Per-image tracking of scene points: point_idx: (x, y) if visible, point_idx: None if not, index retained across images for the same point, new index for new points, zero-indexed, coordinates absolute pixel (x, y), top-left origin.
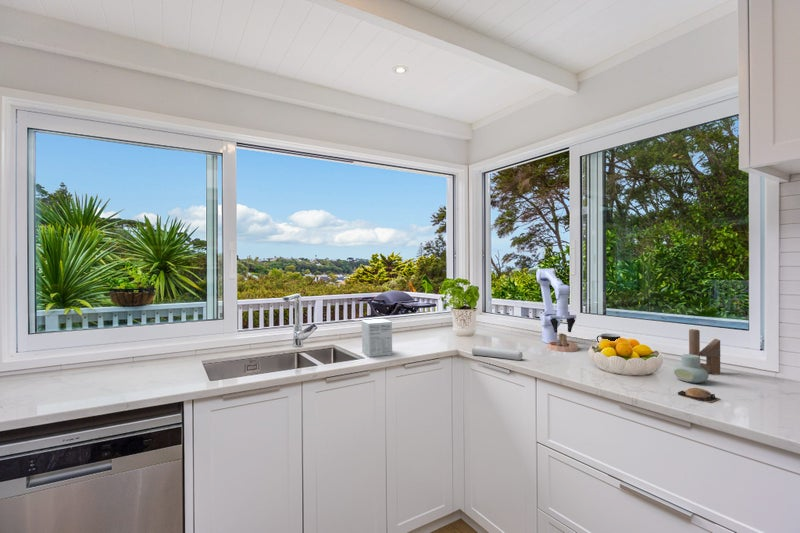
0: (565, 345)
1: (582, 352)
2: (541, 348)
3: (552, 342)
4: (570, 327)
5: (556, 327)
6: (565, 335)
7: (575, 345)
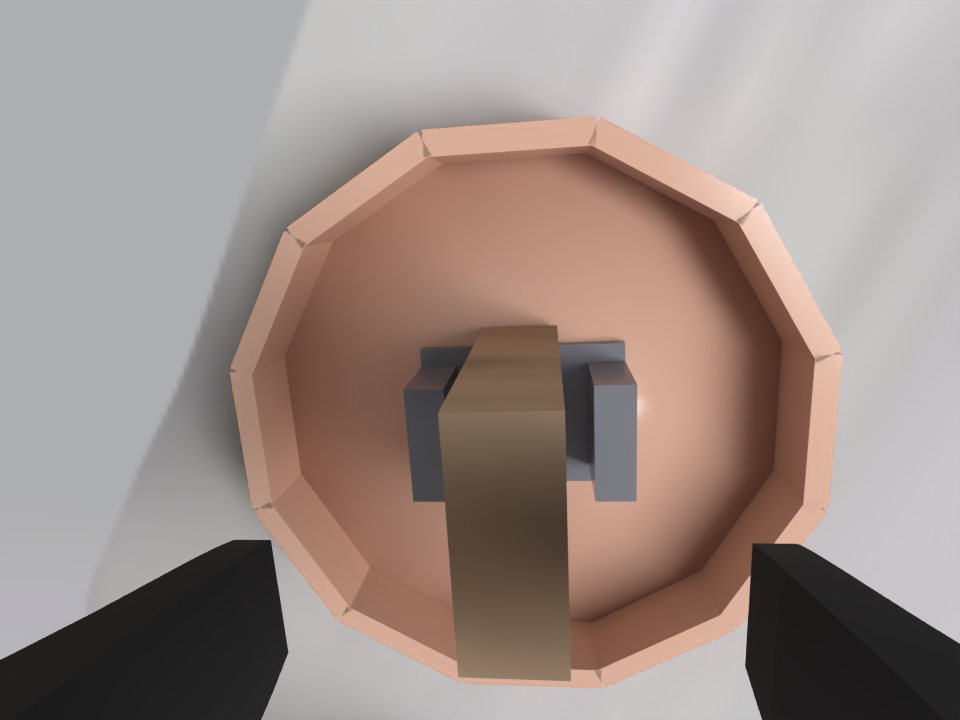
0: (506, 338)
1: (294, 61)
2: (920, 466)
3: (633, 643)
4: (133, 631)
5: (948, 667)
6: (482, 407)
7: (275, 415)
